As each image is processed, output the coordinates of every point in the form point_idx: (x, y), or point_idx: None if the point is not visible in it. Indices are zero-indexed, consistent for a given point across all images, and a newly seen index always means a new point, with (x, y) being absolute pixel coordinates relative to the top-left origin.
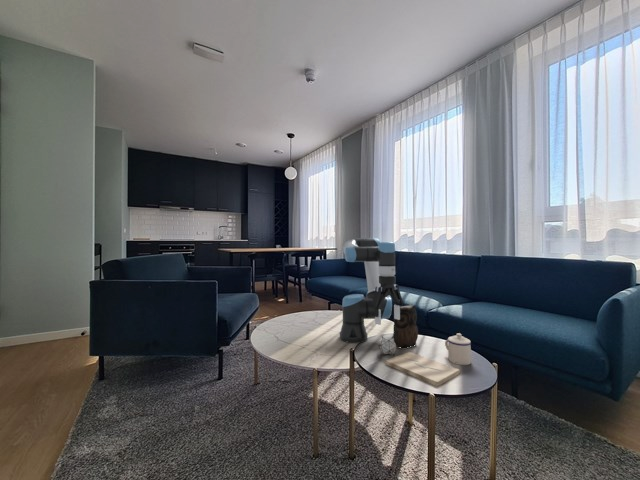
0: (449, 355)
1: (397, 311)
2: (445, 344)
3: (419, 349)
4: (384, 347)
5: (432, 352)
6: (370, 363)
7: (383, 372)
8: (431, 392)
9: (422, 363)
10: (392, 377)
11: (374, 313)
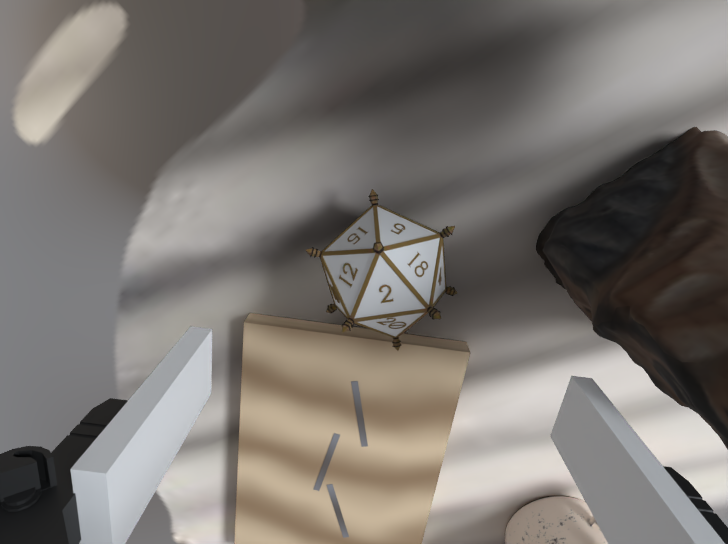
0: (531, 529)
1: (605, 505)
2: None
3: (600, 349)
4: (327, 277)
5: None
6: (187, 246)
7: (160, 351)
8: (181, 536)
9: (359, 463)
10: None
11: (70, 435)
